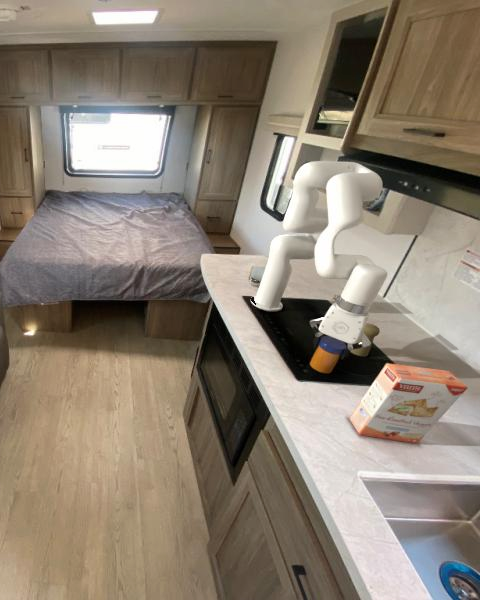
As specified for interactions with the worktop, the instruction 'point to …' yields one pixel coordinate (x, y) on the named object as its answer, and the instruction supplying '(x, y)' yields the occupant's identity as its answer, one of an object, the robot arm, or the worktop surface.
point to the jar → (324, 360)
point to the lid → (332, 345)
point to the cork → (370, 333)
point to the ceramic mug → (256, 274)
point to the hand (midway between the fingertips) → (328, 351)
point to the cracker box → (405, 402)
